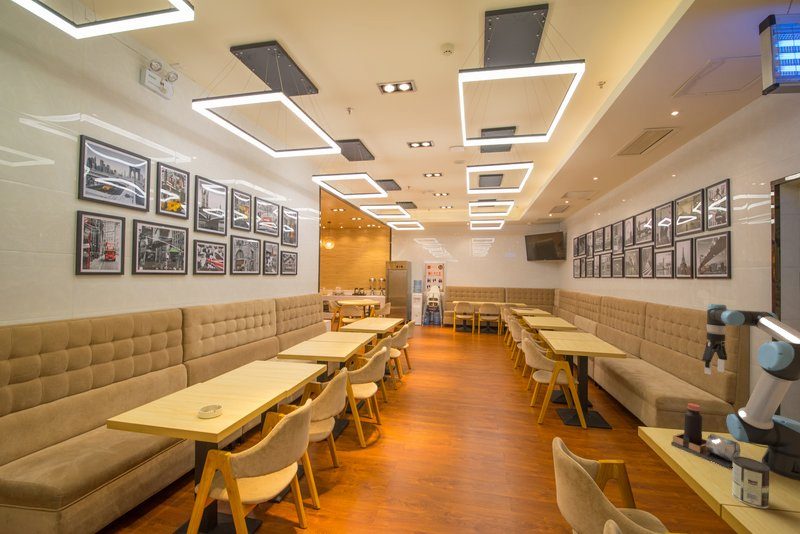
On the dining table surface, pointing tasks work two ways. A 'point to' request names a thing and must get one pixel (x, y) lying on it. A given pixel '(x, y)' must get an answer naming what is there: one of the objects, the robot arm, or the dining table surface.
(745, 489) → the coffee can
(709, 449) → the motor mount
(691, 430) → the vinegar
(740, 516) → the dining table surface
